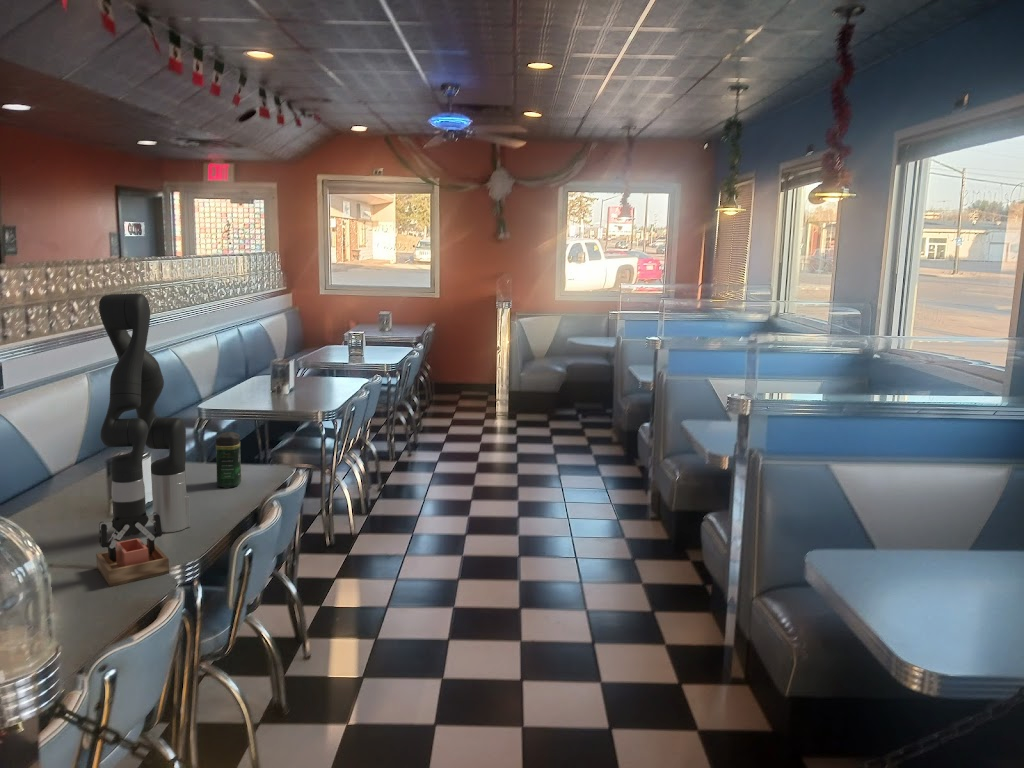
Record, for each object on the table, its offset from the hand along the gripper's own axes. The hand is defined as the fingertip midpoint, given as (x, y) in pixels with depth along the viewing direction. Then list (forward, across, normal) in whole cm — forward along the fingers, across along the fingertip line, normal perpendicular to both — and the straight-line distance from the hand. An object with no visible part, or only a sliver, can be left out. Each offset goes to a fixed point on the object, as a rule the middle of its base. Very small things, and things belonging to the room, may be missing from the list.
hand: (132, 557), depth 199 cm
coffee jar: (+4, +46, +60) cm, 76 cm away
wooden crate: (+4, 0, 0) cm, 4 cm away
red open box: (+3, 0, 0) cm, 3 cm away
